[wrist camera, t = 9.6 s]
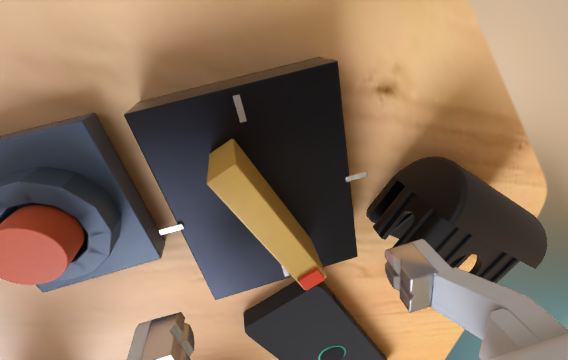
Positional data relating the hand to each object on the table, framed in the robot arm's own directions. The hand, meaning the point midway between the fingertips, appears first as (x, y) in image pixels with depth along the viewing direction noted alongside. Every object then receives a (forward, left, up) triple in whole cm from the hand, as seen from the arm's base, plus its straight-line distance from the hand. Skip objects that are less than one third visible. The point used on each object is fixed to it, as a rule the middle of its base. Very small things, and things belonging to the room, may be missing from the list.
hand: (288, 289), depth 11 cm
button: (-2, -12, -7) cm, 14 cm away
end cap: (+7, +13, -10) cm, 18 cm away
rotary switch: (0, 0, -10) cm, 10 cm away
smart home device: (+21, +2, -10) cm, 24 cm away
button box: (-2, -12, -10) cm, 16 cm away
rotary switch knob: (0, 0, -7) cm, 7 cm away
